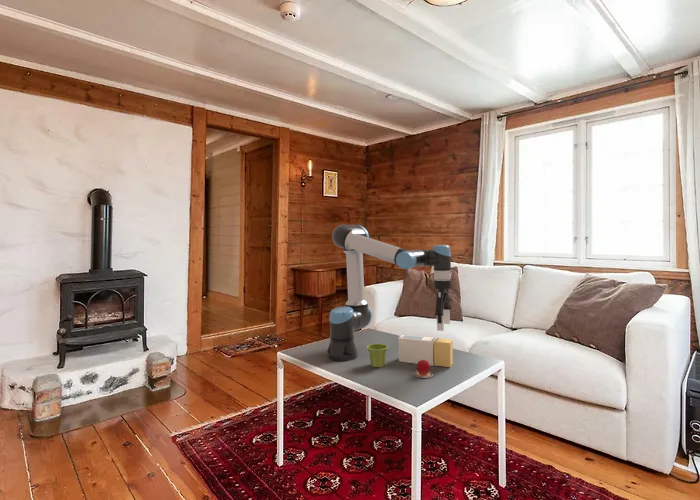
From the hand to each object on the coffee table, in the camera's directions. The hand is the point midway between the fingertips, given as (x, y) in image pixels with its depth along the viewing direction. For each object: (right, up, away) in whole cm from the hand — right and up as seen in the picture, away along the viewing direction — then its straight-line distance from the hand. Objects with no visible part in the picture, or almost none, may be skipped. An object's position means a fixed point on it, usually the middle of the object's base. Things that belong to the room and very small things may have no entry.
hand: (443, 327), depth 168 cm
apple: (-11, -18, -11) cm, 24 cm away
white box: (-11, -17, +6) cm, 21 cm away
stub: (0, -17, +1) cm, 17 cm away
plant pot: (-29, -18, +2) cm, 35 cm away
